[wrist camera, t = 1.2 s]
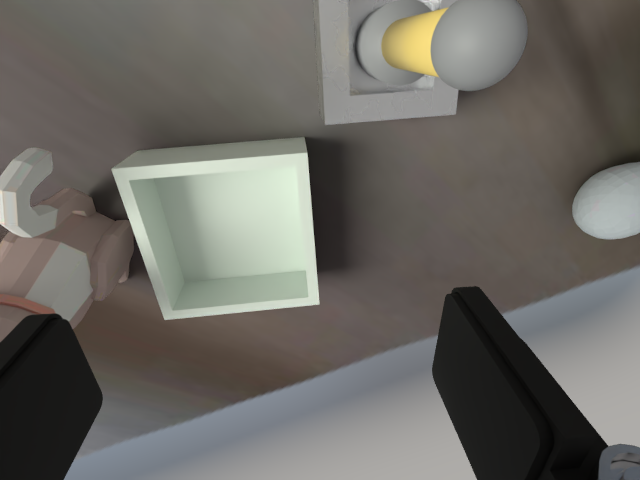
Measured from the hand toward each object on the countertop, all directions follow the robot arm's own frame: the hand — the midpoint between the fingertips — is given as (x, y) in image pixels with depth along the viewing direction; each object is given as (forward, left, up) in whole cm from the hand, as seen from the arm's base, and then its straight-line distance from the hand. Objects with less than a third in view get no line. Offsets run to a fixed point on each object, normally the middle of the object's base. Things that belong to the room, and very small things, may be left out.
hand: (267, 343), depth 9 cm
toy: (+7, -20, -26) cm, 34 cm away
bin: (+8, -6, -26) cm, 28 cm away
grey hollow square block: (-6, +8, -26) cm, 28 cm away
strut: (-6, +8, -22) cm, 25 cm away
